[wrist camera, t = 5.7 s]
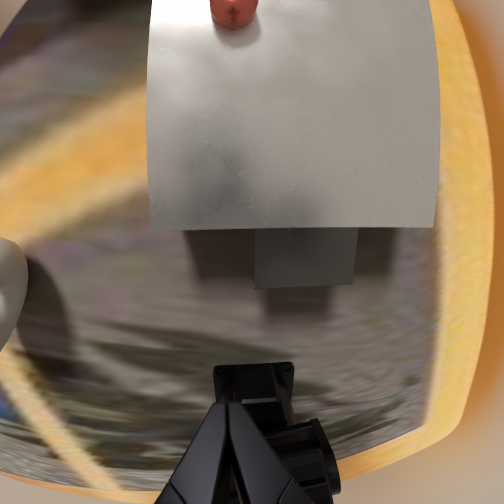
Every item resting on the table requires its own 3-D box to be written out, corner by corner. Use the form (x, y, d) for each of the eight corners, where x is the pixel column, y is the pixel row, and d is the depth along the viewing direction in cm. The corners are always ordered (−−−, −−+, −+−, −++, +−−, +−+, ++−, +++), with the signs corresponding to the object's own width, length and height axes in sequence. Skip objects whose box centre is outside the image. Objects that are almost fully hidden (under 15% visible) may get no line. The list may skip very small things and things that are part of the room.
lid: (415, 271, 17) (435, 287, 15) (161, 282, 16) (153, 303, 13) (417, -8, 11) (437, -20, 9) (162, -38, 10) (154, -59, 8)
